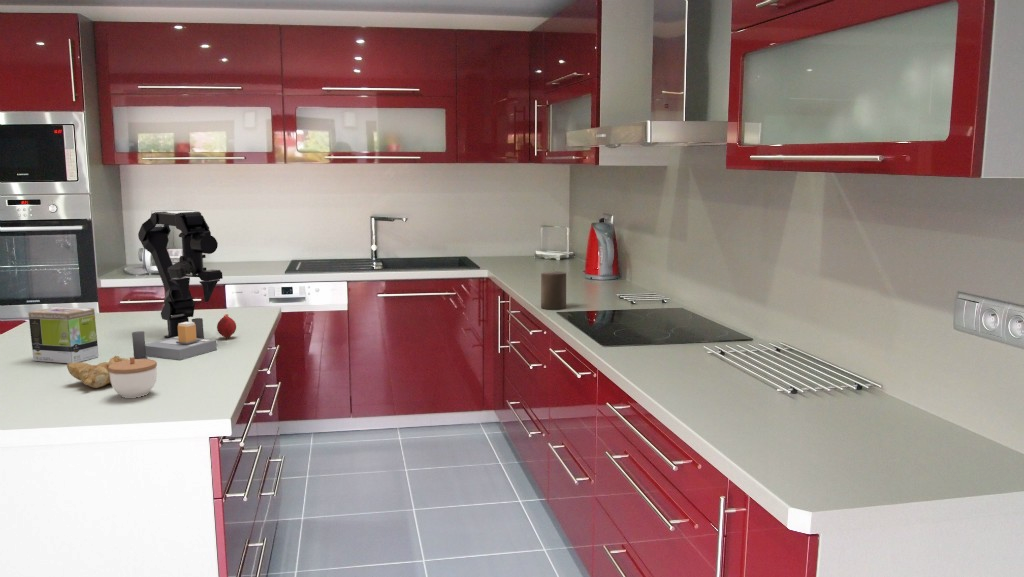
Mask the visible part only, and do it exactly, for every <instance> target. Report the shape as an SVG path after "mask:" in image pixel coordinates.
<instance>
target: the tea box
mask: <svg viewBox="0 0 1024 577" xmlns="http://www.w3.org/2000/svg"><path fill="white" fill-rule="evenodd" d="M28 320H29V329H30V331H29V332H30V340H31V349H32V358H33V361H35V362H45V363H61V364H69V363H75V362H85V361H88V360H92V359H96V358H99V347H98V334H97V324H96V314H95V309H94V307H93V308H92V307H91V308H90V307H65V306H53V307H49V308H48V307H47V308H43V309H37V310H34V311H29V312H28Z"/></svg>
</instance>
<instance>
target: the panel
mask: <svg viewBox="0 0 1024 577" xmlns="http://www.w3.org/2000/svg"><path fill="white" fill-rule="evenodd" d="M197 340H200V341H198V342H194V343H190V344H179V343H176V342H177V341H179V339H178V336H176V337H172V338H165V339H160V340H156V341H152V342H148V343H145V348H146V356H147V357H152V356H153V358H160V357H161V358H160V359H168V358H169V360H178V361H182V360H185V359H189V358H193V357H196V355H197V356H200V355H203V353H204V354H206V353H211V352H214V350H215V351H217V350H218V348H217V347H218V346H217V345H218V344H217V339H208V338H204V339H200V338H197Z"/></svg>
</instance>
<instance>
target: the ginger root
mask: <svg viewBox="0 0 1024 577" xmlns="http://www.w3.org/2000/svg"><path fill="white" fill-rule="evenodd" d="M126 360H129V359H128V358H125V357H120V356H119V355H114V356H113V357H111V358H110V359H109V361H108V362H106V361H104V362H103V361H102V362H100V363H98V364H96V365H95V364H94V365H93V364H89V363H88V362H84V361H82V362H75V363H66V367H67V368H66V369H67V371H68V373H69V374H70V375H71V376H72V377H73V378H74V379H76V380H78V381H81V382H82V383H83V384H84V385H85V386H88V387H91V388H93V389H99V388H102V387H104V386H106V384H107V385H112V384H111V381H110V376H109V371H108V367H109V365H111V364H113V363H116V362H120V361H126Z"/></svg>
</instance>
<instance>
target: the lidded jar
mask: <svg viewBox="0 0 1024 577" xmlns="http://www.w3.org/2000/svg"><path fill="white" fill-rule="evenodd" d="M157 364H158V362H157V361H156V360H154V359H149V358H147V359H134V356H130V357H129V359H128V360H126V361H120V362H116V363H113V364H111V365H109V367H108V371H109V376H110V381H111V384H110V385H111V387H112V389H113V390H114V391H115V393H117V395H120V396H122V397H125V398H124V399H137V398H136V397H138V398H142V397H141V396H143V397H145V396H144V395H146V396H148V395H149V394H150V392H151V391H152V389H153V388H154V387H155V384H156V382H157V375H158V372H157V369H158V368H157V366H158V365H157ZM148 393H149V394H148ZM147 394H148V395H147ZM122 397H121V398H122Z"/></svg>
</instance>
